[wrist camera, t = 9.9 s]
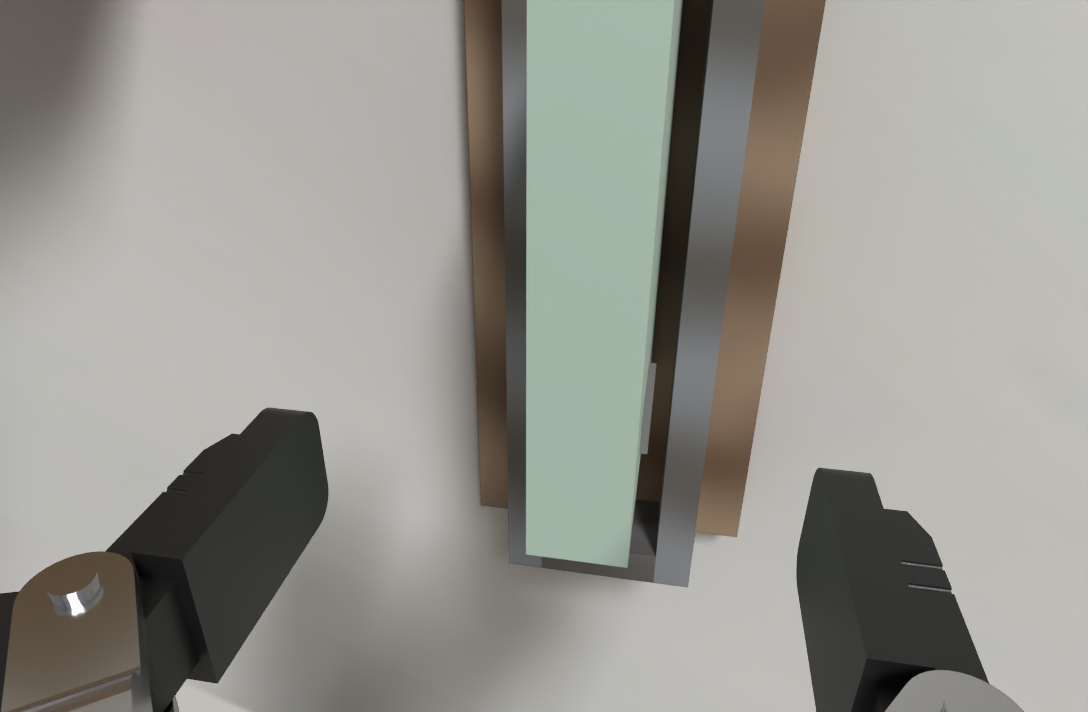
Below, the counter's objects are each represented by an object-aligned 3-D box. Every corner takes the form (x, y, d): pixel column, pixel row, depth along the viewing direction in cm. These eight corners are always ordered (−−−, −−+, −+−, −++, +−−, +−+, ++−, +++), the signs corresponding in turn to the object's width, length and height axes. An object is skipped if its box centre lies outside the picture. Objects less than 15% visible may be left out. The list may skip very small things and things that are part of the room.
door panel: (597, -23, 21) (526, -5, 13) (692, -21, 21) (687, -2, 12) (582, 359, 27) (525, 554, 18) (656, 366, 27) (635, 568, 18)
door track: (471, -232, 21) (418, -274, 17) (856, -241, 19) (895, -290, 15) (489, 482, 32) (460, 556, 28) (735, 512, 31) (740, 594, 27)
